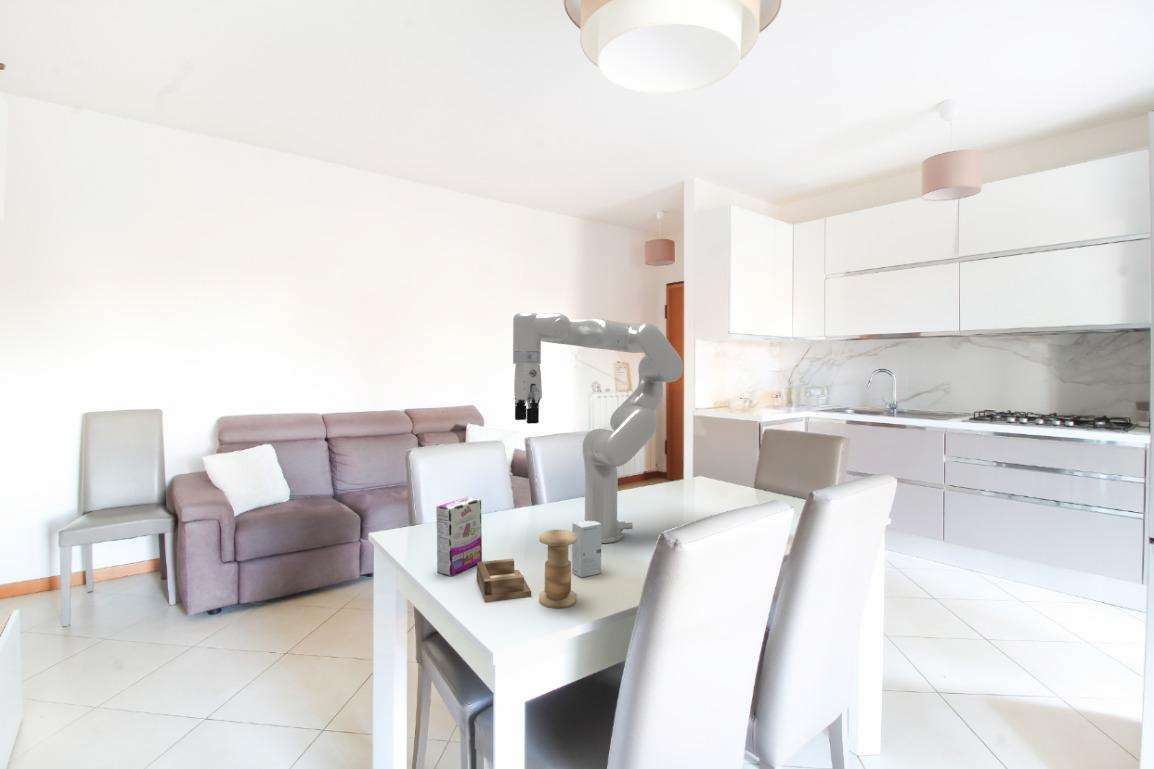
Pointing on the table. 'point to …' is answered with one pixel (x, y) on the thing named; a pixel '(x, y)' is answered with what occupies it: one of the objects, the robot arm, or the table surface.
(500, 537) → the table surface
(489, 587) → the wooden u-shaped holder
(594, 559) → the skincare box
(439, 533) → the candy bar box
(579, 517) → the table surface
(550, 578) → the bobbin
